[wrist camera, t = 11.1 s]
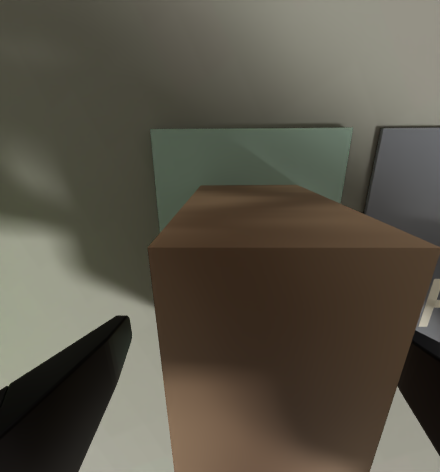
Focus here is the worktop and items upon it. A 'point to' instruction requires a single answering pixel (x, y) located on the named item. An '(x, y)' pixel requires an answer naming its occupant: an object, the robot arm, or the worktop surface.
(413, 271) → the walnut block
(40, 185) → the worktop surface
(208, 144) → the green mat
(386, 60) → the worktop surface
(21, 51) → the worktop surface
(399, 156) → the plate
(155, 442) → the worktop surface
